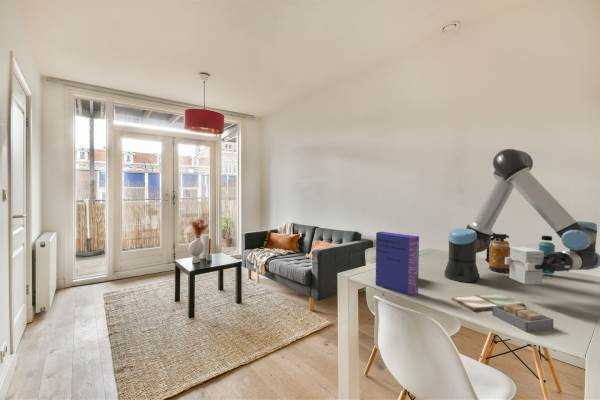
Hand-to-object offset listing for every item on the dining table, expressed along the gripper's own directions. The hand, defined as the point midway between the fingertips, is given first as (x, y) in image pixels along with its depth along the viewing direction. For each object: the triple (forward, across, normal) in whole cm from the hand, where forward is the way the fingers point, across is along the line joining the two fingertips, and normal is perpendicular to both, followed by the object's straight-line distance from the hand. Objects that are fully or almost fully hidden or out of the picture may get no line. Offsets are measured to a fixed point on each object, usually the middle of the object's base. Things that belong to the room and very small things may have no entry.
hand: (515, 263), depth 110 cm
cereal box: (+37, +22, -16) cm, 46 cm away
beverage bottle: (-48, +25, -15) cm, 56 cm away
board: (+12, 0, -15) cm, 19 cm away
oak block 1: (+14, -12, -14) cm, 24 cm away
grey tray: (+14, -15, -15) cm, 25 cm away
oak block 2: (+14, -18, -14) cm, 27 cm away
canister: (-31, +37, -15) cm, 51 cm away
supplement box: (-5, 0, -7) cm, 9 cm away
